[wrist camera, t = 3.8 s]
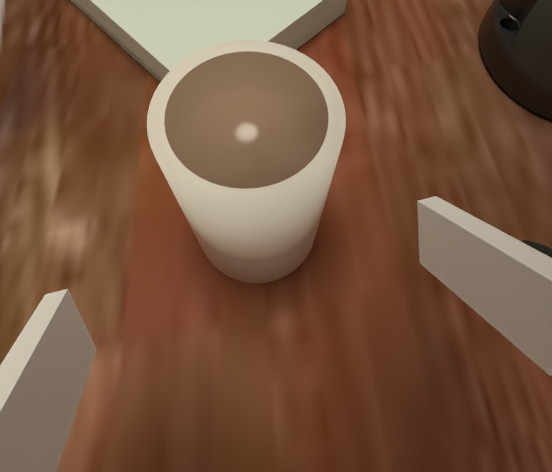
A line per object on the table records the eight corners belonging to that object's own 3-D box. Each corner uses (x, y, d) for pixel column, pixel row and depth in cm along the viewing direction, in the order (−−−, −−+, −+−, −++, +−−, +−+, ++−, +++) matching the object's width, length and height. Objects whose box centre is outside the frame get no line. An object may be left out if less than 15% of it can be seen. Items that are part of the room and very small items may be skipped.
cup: (258, 154, 29) (250, 10, 18) (339, 226, 28) (386, 116, 16) (174, 225, 27) (106, 113, 16) (255, 308, 25) (241, 247, 14)
